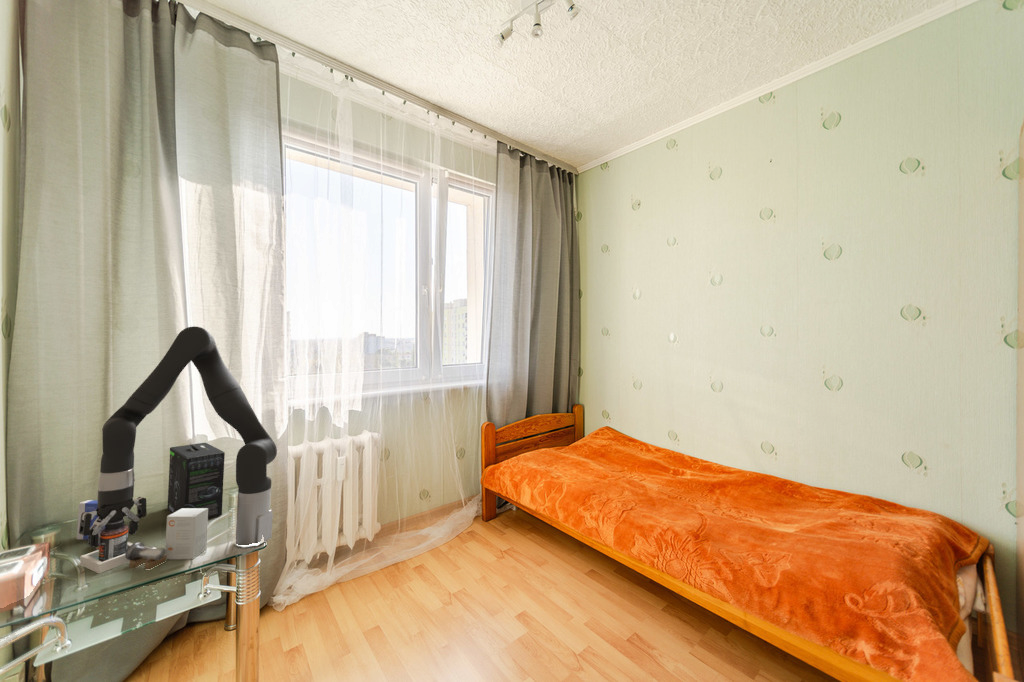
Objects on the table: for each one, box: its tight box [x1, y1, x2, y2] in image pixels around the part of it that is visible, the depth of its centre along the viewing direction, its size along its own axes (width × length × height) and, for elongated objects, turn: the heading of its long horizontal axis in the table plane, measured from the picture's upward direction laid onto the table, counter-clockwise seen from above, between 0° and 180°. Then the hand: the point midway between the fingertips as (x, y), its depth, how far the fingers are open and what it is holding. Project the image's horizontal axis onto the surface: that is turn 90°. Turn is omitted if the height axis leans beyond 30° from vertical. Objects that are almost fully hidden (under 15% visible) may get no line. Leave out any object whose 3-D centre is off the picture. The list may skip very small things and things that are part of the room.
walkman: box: [76, 499, 105, 540], centre depth 128 cm, size 8×3×12 cm, turn 94°
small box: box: [164, 508, 209, 560], centre depth 121 cm, size 8×6×13 cm
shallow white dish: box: [79, 541, 133, 574], centre depth 116 cm, size 10×10×2 cm
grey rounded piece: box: [125, 541, 167, 570], centre depth 115 cm, size 9×5×6 cm, turn 83°
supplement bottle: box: [99, 517, 129, 562], centre depth 116 cm, size 6×6×11 cm
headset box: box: [167, 442, 226, 520], centre depth 150 cm, size 22×12×26 cm, turn 53°
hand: (113, 540), depth 116 cm, fingers open, 8 cm apart
